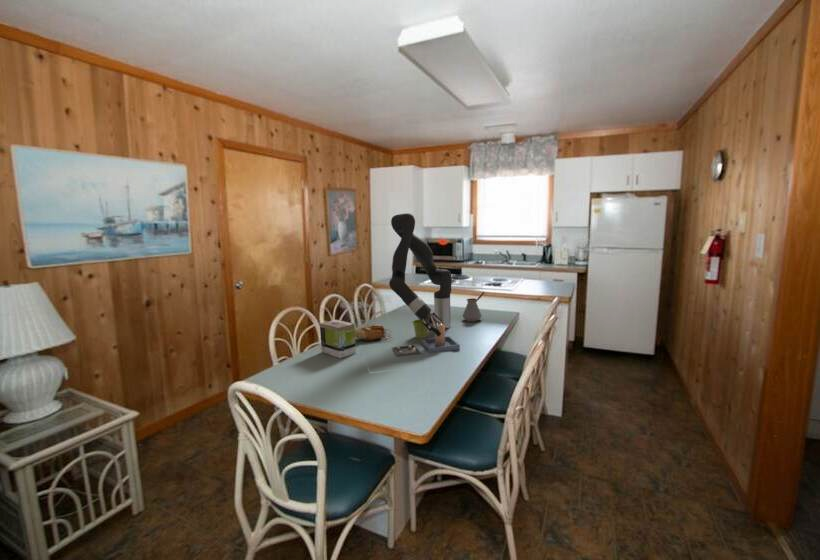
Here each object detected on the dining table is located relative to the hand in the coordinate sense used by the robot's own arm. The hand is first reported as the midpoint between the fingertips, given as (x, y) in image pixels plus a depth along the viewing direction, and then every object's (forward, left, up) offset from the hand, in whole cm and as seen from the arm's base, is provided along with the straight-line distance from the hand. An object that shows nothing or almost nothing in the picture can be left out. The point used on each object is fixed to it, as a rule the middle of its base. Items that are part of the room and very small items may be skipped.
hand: (442, 332), depth 191 cm
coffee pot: (-45, +36, -7) cm, 58 cm away
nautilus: (-23, -30, -8) cm, 39 cm away
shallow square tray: (-1, -1, -7) cm, 7 cm away
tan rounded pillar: (-1, -1, -7) cm, 7 cm away
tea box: (-9, -50, -8) cm, 51 cm away
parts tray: (+1, -19, -7) cm, 20 cm away
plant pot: (-19, -6, -7) cm, 21 cm away
